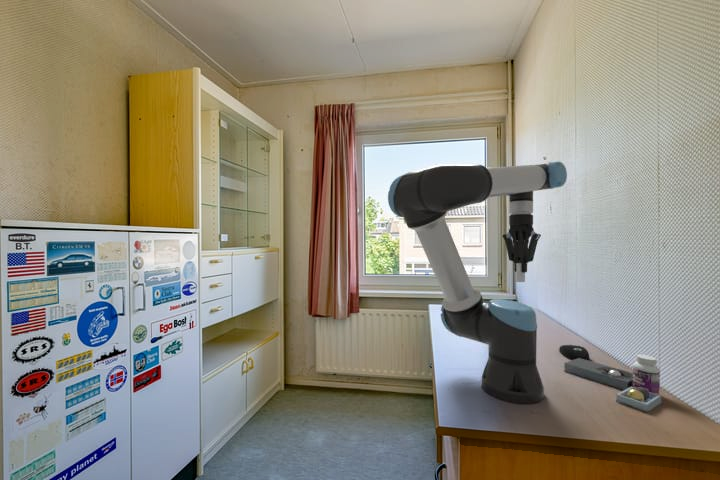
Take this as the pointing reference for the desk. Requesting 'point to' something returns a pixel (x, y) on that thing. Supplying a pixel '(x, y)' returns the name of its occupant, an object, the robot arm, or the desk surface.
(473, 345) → the desk surface
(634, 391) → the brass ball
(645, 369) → the pill bottle
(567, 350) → the computer mouse
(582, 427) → the desk surface
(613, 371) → the steel ball
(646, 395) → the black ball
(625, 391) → the parts tray
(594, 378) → the block
